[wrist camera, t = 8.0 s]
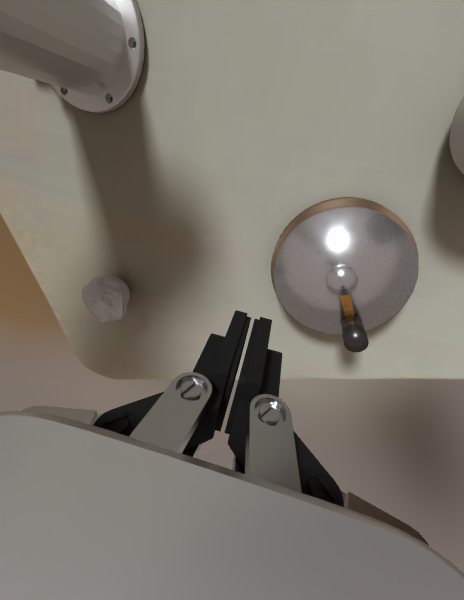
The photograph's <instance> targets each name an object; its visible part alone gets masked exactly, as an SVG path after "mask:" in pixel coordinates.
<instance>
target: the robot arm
mask: <svg viewBox="0 0 464 600" xmlns="http://www.w3.org/2000/svg"><path fill="white" fill-rule="evenodd" d="M135 46H136V47H135ZM144 47H145V42H144V31H143V24H142V20H141V15H140V11H139V8H138V5H137V3H136V0H0V70H4V71H7V72H11V73H14V74H17V75H21V76H24V77H28V78H31V79H35V80H38V81H42V82H45V83H49V84H51V86H52V87H53V88H54V89H55V90H56V92H57V93H58V94H59V95H60V96H61V97H62V98H63V99H65V100H66V101H67V102H68V103H70V104H71V105H73V106H75V107H77V108H78V109H82V110H85V111H88V112H94V113H106V112H110V111H112V110H115V109H117V108H118V107H120V106H121V105H123V104H124V103H125V102H126V101H127V100H128V99H129V97H130V96H131V95H132V93H133V91H134V90H135V88H136V86H137V84H138V81H139V78H140V75H141V72H142V67H143V61H144ZM250 320H251V318H250V317H247V313H244V312H240V311H235V313H234V316H233V318H232V321H231V324H230V326H229V329H228V331H227V334H226V336H225V337H223V336H220V335H216V334H211V335H210V337H209V339H208V341H207V343H206V345H205V347H204V349H203V352H202V354H201V356H200V358H199V360H198V362H197V364H196V366H195V368H194V370H193V372H188V373H183V374H181V375H179V376H177V377H176V378H175V379H174V380H173V381H172V383H171V384H170V385H169V387H168V388H167V389H166V391H165V392H162V393H159V394H156V395H153V396H150V397H147V398H144V399H141V400H138V401H135V402H132V403H130V404H127V405H124V406H121V407H118V408H115V409H112V410H110V411H108V412H105V413H104V414H97V412H96V411H95V410H84V409H72V408H60V407H48V406H33V407H30V408H27V409H24V410H22V411H8V412H7V411H5V412H0V600H464V572H462V571H461V570H460V569H459V568H458V567H457V566H455V565H454V564H453V563H452V562H450V561H449V560H448V559H446V558H445V557H443V556H442V555H441V554H439V553H438V552H437V551H435V550H434V549H433V548H431V547H430V546H429V545H428V543H427V541H426V540H425V539H424V538H423V537H422V535H421V534H420V533H419V532H418V531H416V530H415V529H414V528H412V527H411V526H409V525H408V524H406V523H404V522H402V521H401V520H399V519H397V518H395V517H394V516H392V515H390V514H388V513H386V512H385V511H383V510H381V509H379V508H377V507H376V506H374V505H372V504H370V503H368V502H367V501H365V500H363V499H361V498H360V497H358V496H356V495H354V494H353V493H351V492H348V494H346V493H344V492H342V491H340V488H339V487H338V485H337V484H336V482H335V481H334V479H333V478H332V477H331V476H330V475H329V473H328V472H327V471H326V470H325V469H324V467H323V466H322V465H321V464H320V463H319V461H318V460H317V459H316V458H315V456H314V455H313V454H312V453H311V452H310V450H309V449H308V448H307V447H306V445H305V444H304V443H303V442H302V441H301V439H300V438H299V437H298V436H297V434H296V433H295V432H294V431H293V426H292V419H291V413H290V410H289V408H288V406H287V405H286V403H284V402H283V401H282V400H281V399H279V398H278V396H279V384H280V373H281V362H282V353H280V352H277V351H273V350H270V349H267V348H268V342H269V336H270V330H271V324H272V320H270V319H266V318H262V317H260V320H258V319H255V320H254V324H253V328H252V332H251V335H250V339H249V343H248V347H247V350H246V354H245V358H244V362H243V365H242V369H241V373H240V377H239V380H238V385H237V388H236V392H235V395H234V399H233V403H232V407H231V411H230V414H229V418H228V422H227V426H226V430H225V433H227V434H230V436H229V440H228V445H229V446H230V448H231V450H232V451H233V453H234V459H233V470H230V469H227V468H224V467H221V466H218V465H215V464H212V463H209V462H206V461H202V460H199V459H196V458H195V457H196V455H197V453H198V451H199V449H200V446H201V444H202V443H204V442H206V441H208V440H210V439H212V438H213V436H214V432H215V430H217V431H221V427H222V423H223V420H224V416H225V413H226V409H227V406H228V402H229V399H230V395H231V392H232V388H233V385H234V381H235V378H236V374H237V370H238V367H239V363H240V359H241V355H242V351H243V348H244V344H245V340H246V336H247V332H248V328H249V324H250Z"/></svg>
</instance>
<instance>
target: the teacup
mask: <svg viewBox="0 0 464 600" xmlns="http://www.w3.org/2000/svg"><path fill="white" fill-rule="evenodd" d="M450 150H451V154H452V157H453V160H454V162H455V164H456V166H457V167H458V169H459V170H460V171H461V172H462V173H463V174H464V97H463V99H462V100H461V102H460V104H459V106H458V108H457V110H456V113H455V115H454V118H453V121H452V126H451V130H450Z"/></svg>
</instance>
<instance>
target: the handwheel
mask: <svg viewBox="0 0 464 600" xmlns="http://www.w3.org/2000/svg"><path fill="white" fill-rule="evenodd" d="M417 277H418V257H417V253H416V249H415V247H414V244H413V242H412V241H411V239H410V237H409V236H408V234H407V233H406V232H405V231H404V229H403V228H402V227H401V226H399V225H398V224H397V223H396V222H395V221H393V220H392V219H391V218H389V217H388V216H386V215H384V214H383V213H381V212H378V211H376V210H374V209H370V208H366V207H361V206H337V207H332V208H328V209H324V210H322V211H319V212H317V213H315V214H313V215H311V216H309V217H307V218H306V219H304V220H303V221H302V222H300V223H299V224H298V225H297V226H296V227H295V228H293V229H292V231H291V232H290V233H289V234H288V235H287V237H286V238H285V240H284V241H283V243H282V245H281V247H280V249H279V252H278V254H277V258H276V261H275V265H274V276H273V278H274V286H275V290H276V294H277V296H278V299H279V301H280V302H281V304H282V306H283V307H284V309H285V310H286V311H287V312H288V313H289V314H290V315H291V316H292V317H293V318H294V319H295V320H296V321H298V322H299V323H301V324H302V325H304V326H306V327H308V328H310V329H312V330H315V331H318V332H322V333H327V334H334V335H343V339H344V345H345V347H346V348H347V349H348V350H349V351H352V352H361V351H363V350H365V349H366V348H367V346H368V338H367V335H366V332H365V331H367V330H370V329H373V328H375V327H377V326H379V325H381V324H383V323H385V322H386V321H388V320H389V319H390V318H392V317H393V316H394V315H395V314H397V313H398V312H399V311H400V310H401V309H402V307H403V306H404V305H405V304H406V302H407V301H408V299H409V298H410V296H411V294H412V292H413V290H414V288H415V285H416V281H417Z"/></svg>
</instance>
